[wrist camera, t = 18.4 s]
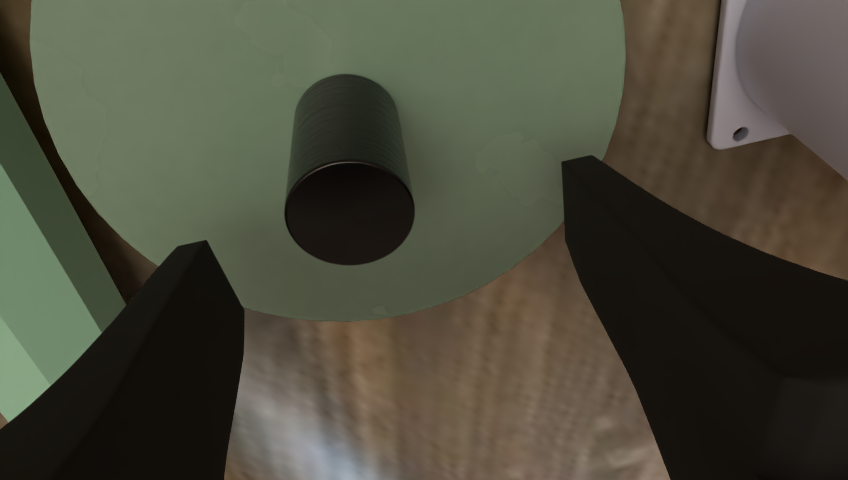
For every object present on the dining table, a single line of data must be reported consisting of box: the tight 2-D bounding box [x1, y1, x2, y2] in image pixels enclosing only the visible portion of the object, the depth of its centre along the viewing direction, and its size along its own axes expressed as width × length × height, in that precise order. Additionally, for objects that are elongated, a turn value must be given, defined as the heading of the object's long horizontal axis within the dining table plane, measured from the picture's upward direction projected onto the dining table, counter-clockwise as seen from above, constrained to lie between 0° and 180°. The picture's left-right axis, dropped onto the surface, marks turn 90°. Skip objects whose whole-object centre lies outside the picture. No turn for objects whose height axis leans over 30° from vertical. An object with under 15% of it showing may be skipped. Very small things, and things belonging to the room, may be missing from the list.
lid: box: [30, 0, 626, 322], centre depth 12 cm, size 12×12×4 cm
